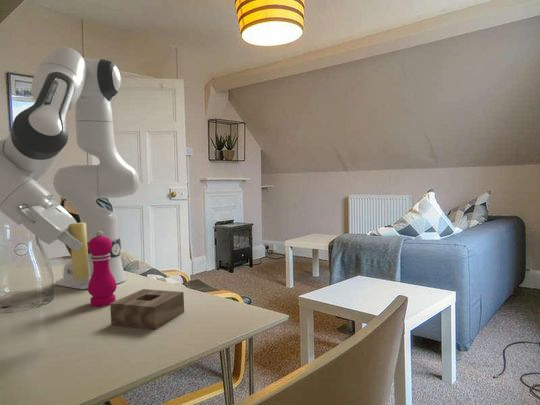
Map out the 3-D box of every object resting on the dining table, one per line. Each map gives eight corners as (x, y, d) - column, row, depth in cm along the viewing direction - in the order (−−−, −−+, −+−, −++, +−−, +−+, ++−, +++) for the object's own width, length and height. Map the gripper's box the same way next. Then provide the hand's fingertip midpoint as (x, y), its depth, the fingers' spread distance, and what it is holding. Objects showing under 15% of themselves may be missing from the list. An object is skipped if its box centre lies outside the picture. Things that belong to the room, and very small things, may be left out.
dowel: (69, 279, 85) (66, 224, 84) (80, 275, 88) (78, 222, 87) (81, 280, 84) (77, 224, 83) (92, 276, 87) (89, 222, 86)
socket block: (111, 324, 90) (110, 303, 90) (143, 308, 101) (143, 289, 101) (155, 329, 86) (154, 307, 86) (184, 311, 97) (183, 292, 97)
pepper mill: (88, 301, 108) (84, 230, 107) (115, 297, 112) (112, 228, 111) (89, 309, 102) (85, 233, 101) (118, 304, 105) (114, 230, 104)
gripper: (26, 194, 72) (86, 242, 76) (50, 191, 92) (97, 230, 96) (-1, 219, 71) (62, 267, 75) (30, 211, 91) (78, 249, 94)
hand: (82, 246), depth 85 cm, fingers closed on dowel, 3 cm apart
